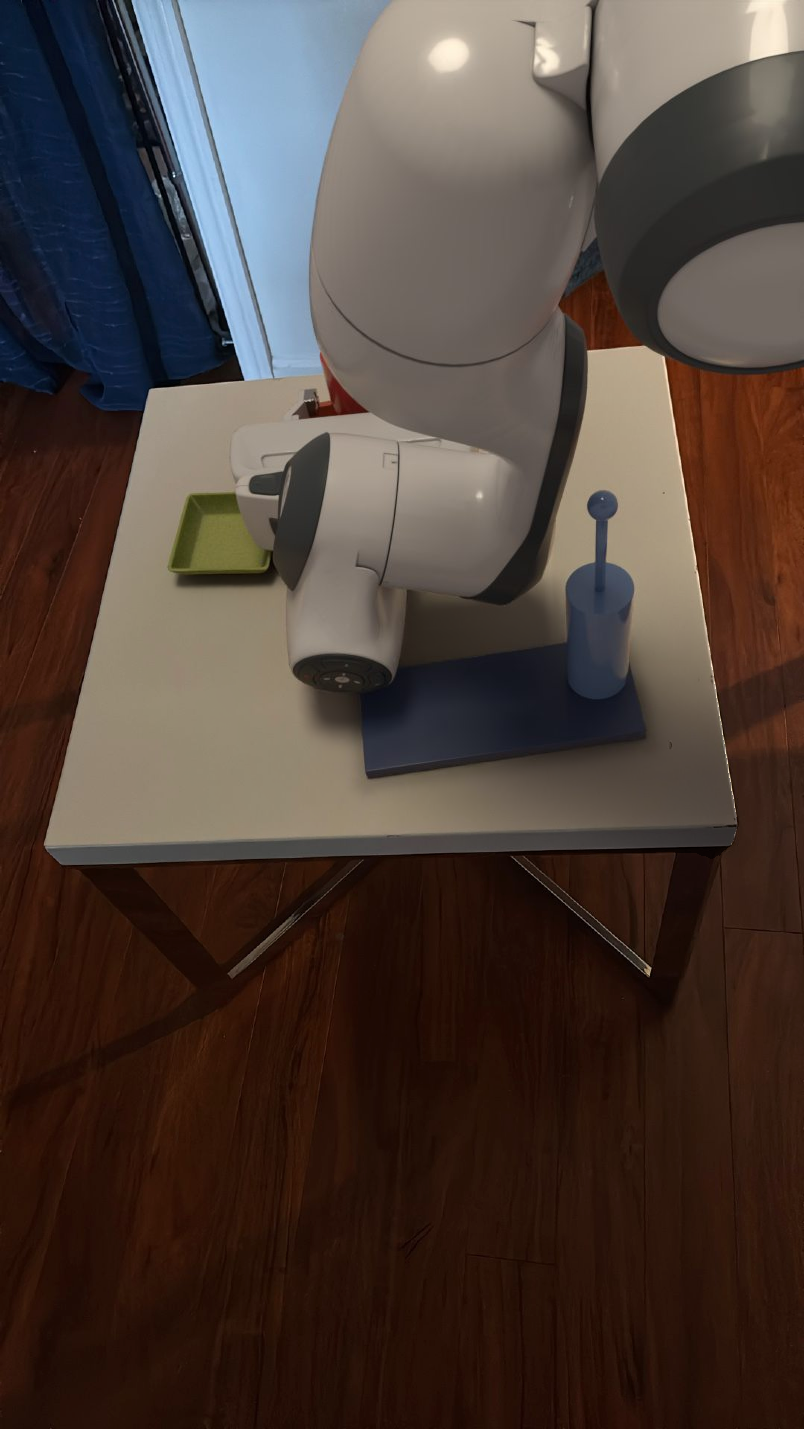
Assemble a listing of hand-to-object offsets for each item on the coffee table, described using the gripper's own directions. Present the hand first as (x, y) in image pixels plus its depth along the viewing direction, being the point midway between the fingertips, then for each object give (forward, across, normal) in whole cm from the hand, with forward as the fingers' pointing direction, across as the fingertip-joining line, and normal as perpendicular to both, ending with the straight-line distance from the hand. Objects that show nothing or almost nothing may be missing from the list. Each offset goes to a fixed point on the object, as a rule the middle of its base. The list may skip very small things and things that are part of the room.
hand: (358, 389), depth 88 cm
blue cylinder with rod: (-27, -18, +5) cm, 33 cm away
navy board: (-29, -10, +6) cm, 31 cm away
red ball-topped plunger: (-1, 0, +5) cm, 5 cm away
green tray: (-11, +12, +6) cm, 17 cm away
